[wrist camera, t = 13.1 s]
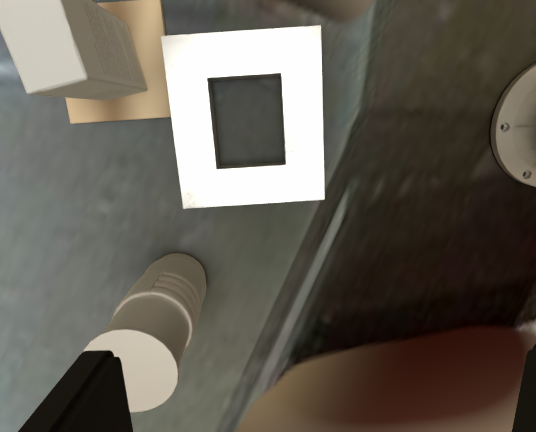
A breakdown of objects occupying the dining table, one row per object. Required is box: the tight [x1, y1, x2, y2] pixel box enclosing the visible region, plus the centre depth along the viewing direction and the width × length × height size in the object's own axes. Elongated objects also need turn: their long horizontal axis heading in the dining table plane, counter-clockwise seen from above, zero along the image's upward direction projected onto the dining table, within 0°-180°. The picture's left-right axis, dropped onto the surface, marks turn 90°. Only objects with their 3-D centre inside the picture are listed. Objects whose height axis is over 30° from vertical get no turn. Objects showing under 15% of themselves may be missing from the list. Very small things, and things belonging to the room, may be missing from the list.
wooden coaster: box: [66, 0, 171, 123], centre depth 33 cm, size 10×10×1 cm
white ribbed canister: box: [83, 253, 207, 412], centre depth 32 cm, size 7×7×15 cm
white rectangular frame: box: [161, 25, 325, 209], centre depth 33 cm, size 14×15×3 cm
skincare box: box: [0, 0, 148, 101], centre depth 27 cm, size 6×4×12 cm
